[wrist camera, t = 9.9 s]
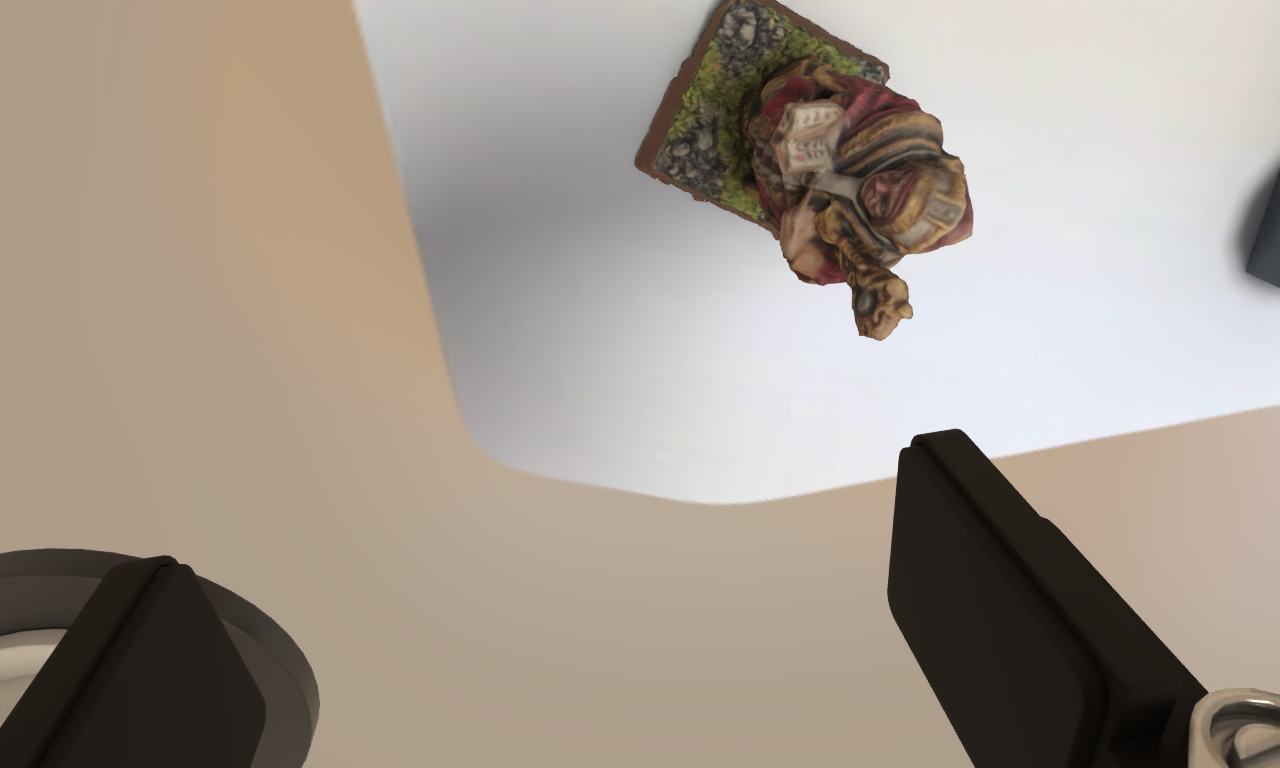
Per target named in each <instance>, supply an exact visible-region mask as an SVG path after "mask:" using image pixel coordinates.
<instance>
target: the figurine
mask: <svg viewBox="0 0 1280 768" xmlns="http://www.w3.org/2000/svg"><path fill="white" fill-rule="evenodd" d="M888 79H890V75H889V66H888V65H887V64H886V63H883V62H881V61H880V60H879V59H878V58H876V57H874V56H872V55H867V54H865V53H863V52H862V50H860V49H857V48H855V47H854V46H852V45H851V44H850V43H849V42H846V41H842V40H839V39H838V38H837V37H834V36H832V35H830V34H829V32H828V33H827V31H826V30H824V29H822V28H821V27H820V26H818V25H815V24H814V23H812V22H811V21H810V20H808V19H806V18H803V17H802V16H800V15H798V13H795V12H793V11H792V10H791V9H789V8H788V7H786V6H784V5H781V4H780V3H779V2H777V1H776V0H726V2H725V3H724V4H723V5H722V6H721V7H720V8H719V9H718V11H717V12H716V13H715V15H714V16H713V18H712V19H711V22H710V27H709V28H708V29H707V30H706V31H705V33H704V34H703V35H702V36H701V41H700V42H699V43H698V44H696V47H695V50H694V52H693V57H690V58H689V59H688V60H687V61H686V62H685V63H684V64H683V66H682V72H681V71H680V72H679V77H677V78H674V80H672V81H671V83H670V86H669V87H668V89H667V91H666V93H665V95H664V99H663V101H662V103H661V106H660V107H659V109H658V111H657V112H656V115H655V117H654V120H653V122H652V124H651V126H650V132H649V133H648V135H647V136H646V137H645V139H644V142H643V144H642V146H641V148H640V150H639V152H638V154H637V156H636V160H635V166H636V167H637V168H638V169H639V170H641V171H643V172H645V173H647V174H648V175H650V176H651V177H652V178H654V179H656V178H658V179H659V180H660V181H661V182H663V183H664V184H667V185H669V184H672V185H674V186H675V187H677V188H680V189H681V190H682V191H685V192H689V193H691V194H693V195H694V196H693V198H694V200H696V201H704V200H706V201H704V202H707V201H709V202H711V203H713V204H715V205H716V206H718V207H720V208H722V209H724V210H727V211H731V212H732V213H734V214H737V215H738V216H740V217H742V218H743V219H745V220H748V221H751V222H754V223H756V224H758V225H759V226H762V227H763V228H765V229H766V230H769V231H771V232H772V233H773V234H774V237H775V239H776V240H780V246H781V250H782V251H783V257H784V258H786V259H787V262H788V264H789V267H790V269H791V271H793V272H795V274H796V275H797V276H798V278H799V280H802V281H803V282H805V283H809V284H818V285H821V286H824V285H826V284H833V283H842V282H847V284H848V285H849V286H850V287H851V289H852V309H853V310H854V316H855V322H856V325H857V328H858V331H859V336H866V337H869V338H874V339H876V340H878V341H882V340H883V339H885V338H886V337H887V336H889V335H890V334H891V332H892V331H893V330H894V329H895V328H896V327H897V325H898V323H899V321H900V320H901V319H903V318H907V319H911V318H912V316H913V310H912V306H911V305H910V304H909V302H908V300H909V295H908V286H907V284H906V282H905V281H903V280H902V279H900V278H899V277H898V276H897V275H896V274H894V273H892V272H891V271H890V270H889V269H890V268H891V267H893V266H894V265H896V264H897V263H898V262H899V261H900V260H901V259H902V258H903V257H904V256H905V255H907V254H920V253H926V252H930V251H933V250H937V249H939V248H940V247H944V246H946V245H953V244H956V243H958V242H960V241H963V240H965V239H967V238H968V237H970V236H972V229H973V209H972V204H971V200H970V197H969V192H968V186H967V181H966V175H965V174H964V165H963V164H962V162H961V160H960V159H959V157H957V156H953V155H950V154H948V153H947V152H945V151H944V150H943V149H942V144H943V132H942V127H941V121H940V120H939V119H937V118H936V117H935V116H933V115H931V114H927V113H925V112H923V111H922V110H921V108H920V107H919V104H918V103H917V102H916V101H915V100H914V99H908V98H907V97H906V96H903V95H900V94H898V93H896V92H894V91H892V90H891V89H890V88H888V87H887V86H885V84H886V82H887V81H888Z"/></svg>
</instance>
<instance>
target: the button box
mask: <svg viewBox="0 0 1280 768" xmlns="http://www.w3.org/2000/svg"><path fill="white" fill-rule="evenodd" d="M1246 272H1247V273H1250V274H1252V275H1254V276H1256V277H1258V278H1260V279H1262V280H1264V281H1267V282H1269V283H1271V284H1273V285H1275V286H1277V287H1279V288H1280V175H1279V178H1278V181H1277V184H1276V187H1275V189H1274V192H1273V195H1272V198H1271V201H1270V204H1269V207H1268V209H1267V212H1266V215H1265V218H1264V221H1263V224H1262V226H1261V229H1260V232H1259V235H1258V238H1257V241H1256V244H1255V246H1254V249H1253V252H1252V255H1251V258H1250V261H1249V263H1248V266H1247V269H1246Z"/></svg>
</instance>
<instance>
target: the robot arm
mask: <svg viewBox="0 0 1280 768" xmlns="http://www.w3.org/2000/svg"><path fill="white" fill-rule="evenodd" d="M887 593H888V594H887V595H888V602H889V606H890V609H891V612H892V615H893V617H894V619H895V621H896V623H897V625H898V627H899V629H900V630H901V632H902V634H903V636H904V638H905V640H906V641H907V643H908V645H909V647H910V649H911V650H912V652H913V654H914V656H915V658H916V660H917V662H918V663H919V665H920V667H921V669H922V671H923V673H924V674H925V676H926V678H927V680H928V682H929V684H930V686H931V687H932V689H933V691H934V693H935V695H936V697H937V698H938V700H939V702H940V704H941V706H942V708H943V710H944V711H945V713H946V715H947V717H948V719H949V721H950V723H951V724H952V726H953V728H954V730H955V732H956V733H957V735H958V737H959V739H960V741H961V742H962V745H963V746H964V748H965V750H966V752H967V754H968V756H969V758H970V759H971V761H972V763H973V765H974V767H975V768H1280V695H1279V694H1274V693H1270V692H1266V691H1261V690H1257V689H1253V688H1252V689H1251V688H1226V689H1223V690H1219V691H1215V692H1212V693H1209V692H1208V691H1207V690H1206V689H1205V688H1204V687H1203V686H1202V685H1201V684H1200V683H1199V682H1198V680H1197V679H1196V678H1195V677H1194V676H1193V675H1192V674H1191V673H1190V672H1189V671H1188V669H1187V668H1186V667H1185V666H1184V665H1183V664H1182V663H1181V662H1180V661H1179V660H1178V659H1177V657H1176V656H1175V655H1174V654H1173V653H1172V652H1171V651H1170V650H1169V649H1168V648H1167V647H1166V645H1165V644H1164V643H1163V642H1162V641H1161V640H1160V639H1159V638H1158V637H1157V636H1156V634H1155V633H1154V632H1153V631H1152V630H1151V629H1150V628H1149V627H1148V626H1147V625H1146V624H1145V622H1144V621H1143V620H1142V619H1141V618H1140V617H1139V616H1138V615H1137V614H1136V613H1135V612H1134V610H1133V609H1132V608H1131V607H1130V606H1129V605H1128V604H1127V603H1126V602H1125V601H1124V600H1123V598H1122V597H1121V596H1120V595H1119V594H1118V593H1117V592H1116V591H1115V590H1114V589H1113V588H1112V586H1111V585H1110V584H1109V583H1108V582H1107V581H1106V580H1105V579H1104V578H1103V577H1102V575H1101V574H1100V573H1099V572H1098V571H1097V570H1096V569H1095V568H1094V567H1093V566H1092V564H1091V563H1090V562H1089V561H1088V560H1087V559H1086V558H1085V557H1084V556H1083V555H1082V554H1081V552H1079V550H1078V549H1077V548H1076V547H1075V546H1074V545H1073V544H1072V543H1071V542H1070V541H1069V539H1068V538H1067V537H1066V536H1065V535H1064V534H1063V533H1062V532H1061V531H1060V530H1059V528H1058V527H1056V526H1055V525H1054V524H1053V523H1052V522H1051V521H1049V520H1048V519H1046V518H1043V517H1040V516H1039V514H1037V512H1036V511H1035V510H1034V509H1033V508H1032V507H1031V506H1030V504H1029V503H1028V502H1027V501H1026V500H1025V499H1024V498H1023V497H1022V496H1021V494H1019V492H1018V491H1017V490H1016V489H1015V488H1014V487H1013V486H1012V484H1010V482H1009V481H1008V480H1007V479H1006V478H1005V477H1004V476H1003V474H1002V473H1001V472H1000V471H999V470H998V469H997V468H996V467H995V466H994V465H993V463H992V462H991V461H990V460H989V459H988V458H987V457H986V456H985V455H984V453H983V452H982V451H981V450H980V449H979V448H978V447H977V446H976V445H975V443H974V442H973V441H972V440H971V439H970V438H969V437H968V436H967V435H966V434H965V433H964V432H963V431H962V430H960V429H950V430H944V431H938V432H932V433H925V434H919V435H916V436H914V437H913V439H912V441H911V445H910V447H907V448H903V449H902V450H901V451H900V455H899V462H898V474H897V485H896V497H895V509H894V519H893V532H892V542H891V555H890V565H889V578H888V588H887ZM265 723H266V704H265V700H264V697H263V695H262V693H261V692H260V690H259V688H258V686H257V684H256V683H255V681H254V679H253V677H252V675H251V674H250V672H249V670H248V668H247V666H246V665H245V663H244V661H243V659H242V657H241V656H240V654H239V652H238V650H237V648H236V647H235V645H234V643H233V641H232V639H231V638H230V636H229V634H228V632H227V630H226V629H225V627H224V625H223V623H222V621H221V620H220V618H219V616H218V614H217V612H216V611H215V609H214V607H213V605H212V603H211V602H210V600H209V598H208V596H207V594H206V593H205V591H204V589H203V587H202V585H201V584H200V582H199V580H198V578H197V576H196V575H195V573H194V571H193V570H192V568H191V567H190V566H188V565H186V564H179V563H178V562H177V561H176V559H174V558H173V557H171V556H165V555H163V556H157V557H150V558H144V559H138V560H132V561H125V562H120V563H118V564H116V565H114V566H113V567H112V568H111V569H110V570H109V571H108V572H107V574H106V575H105V577H104V578H103V580H102V581H101V582H100V584H99V585H98V587H97V588H96V590H95V591H94V593H93V594H92V595H91V597H90V598H89V600H88V601H87V603H86V604H85V606H84V607H83V608H82V610H81V611H80V613H79V614H78V616H77V617H76V619H75V620H74V621H73V623H72V624H71V626H70V627H69V629H45V630H33V631H22V632H17V633H13V634H8V635H4V636H0V768H250V767H251V764H252V761H253V759H254V756H255V753H256V750H257V747H258V744H259V741H260V738H261V736H262V733H263V730H264V726H265Z"/></svg>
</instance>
